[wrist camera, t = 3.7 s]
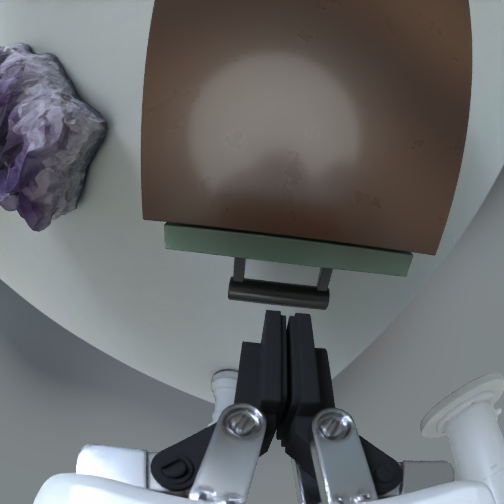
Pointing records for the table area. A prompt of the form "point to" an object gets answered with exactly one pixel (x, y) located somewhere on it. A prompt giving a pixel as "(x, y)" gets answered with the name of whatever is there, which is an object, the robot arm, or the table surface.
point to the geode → (42, 136)
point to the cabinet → (307, 117)
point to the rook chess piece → (223, 391)
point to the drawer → (284, 261)
